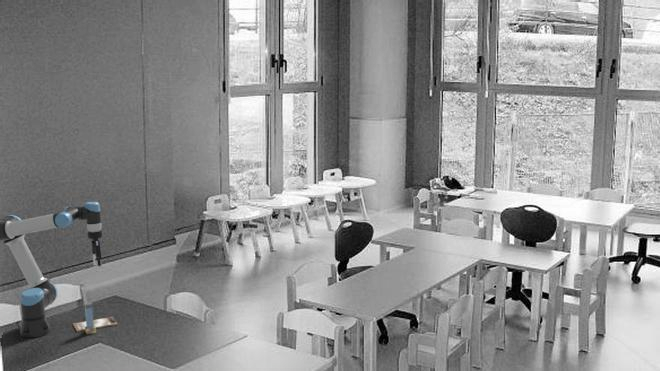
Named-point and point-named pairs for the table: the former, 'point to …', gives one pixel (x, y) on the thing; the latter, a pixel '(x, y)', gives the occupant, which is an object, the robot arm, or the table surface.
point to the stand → (90, 330)
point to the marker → (89, 315)
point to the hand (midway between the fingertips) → (97, 268)
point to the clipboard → (96, 323)
